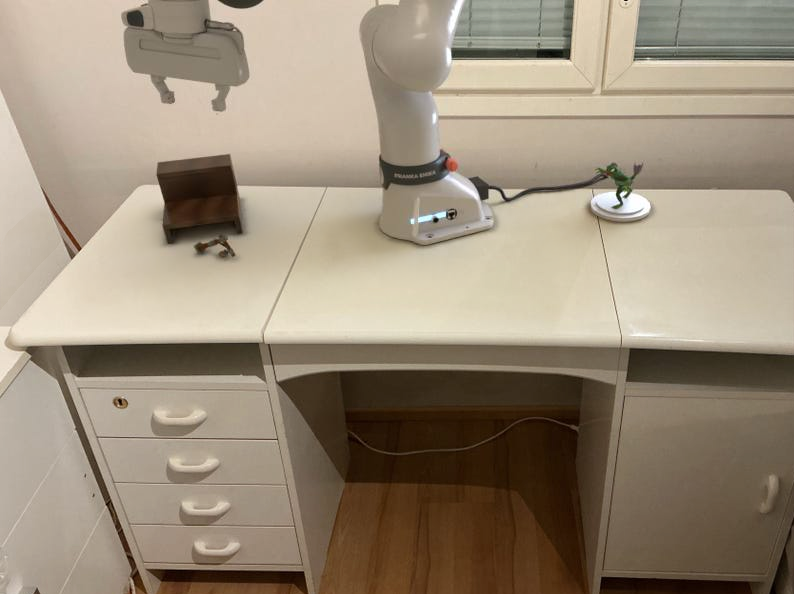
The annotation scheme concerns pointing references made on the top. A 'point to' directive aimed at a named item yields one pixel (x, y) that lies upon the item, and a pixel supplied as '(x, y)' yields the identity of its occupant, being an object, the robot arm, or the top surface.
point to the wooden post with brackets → (202, 246)
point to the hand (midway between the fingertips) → (193, 106)
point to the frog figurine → (620, 198)
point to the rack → (198, 193)
